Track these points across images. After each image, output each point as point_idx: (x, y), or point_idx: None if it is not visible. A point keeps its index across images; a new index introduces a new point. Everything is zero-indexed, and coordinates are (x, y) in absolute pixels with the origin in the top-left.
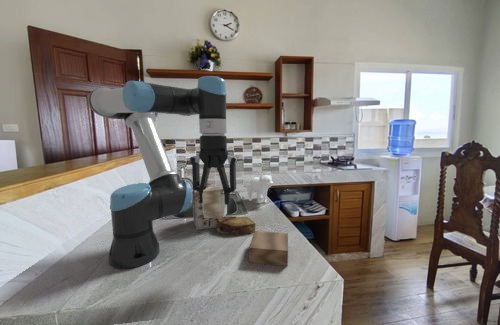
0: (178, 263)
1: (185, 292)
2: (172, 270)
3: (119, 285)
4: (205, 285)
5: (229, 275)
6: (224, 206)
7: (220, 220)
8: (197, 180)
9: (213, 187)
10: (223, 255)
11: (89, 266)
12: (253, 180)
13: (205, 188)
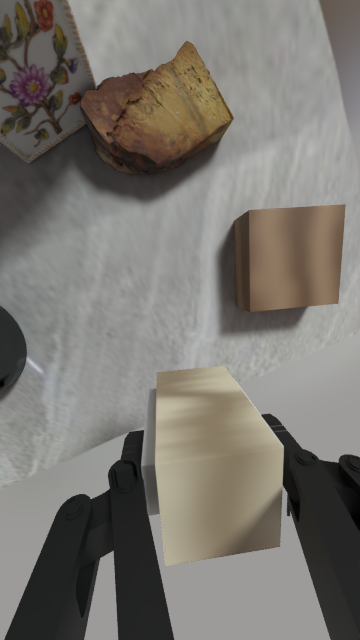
0: (91, 347)
1: None
2: (95, 371)
3: (31, 430)
4: None
5: (209, 355)
6: None
7: (102, 126)
8: (76, 636)
9: (202, 483)
10: (174, 293)
11: None
12: None
13: (143, 494)
